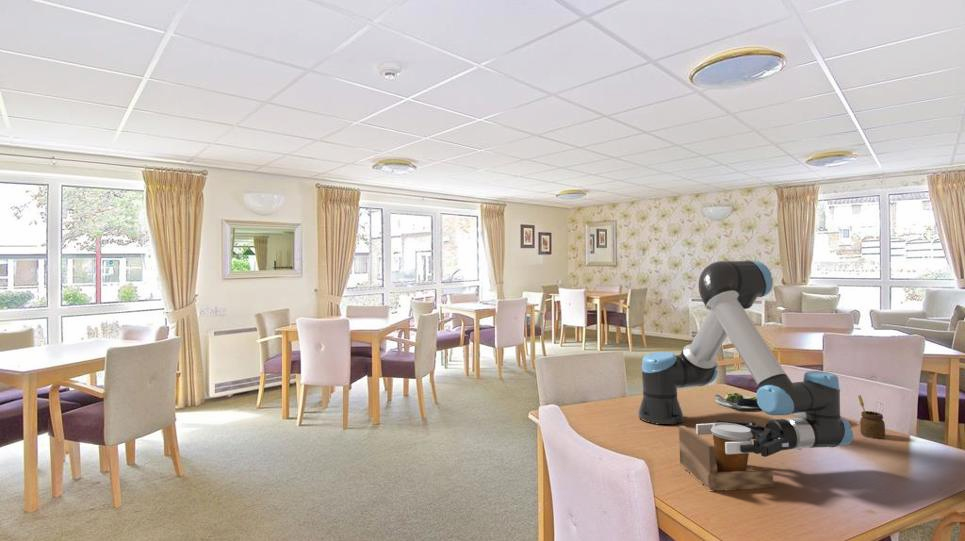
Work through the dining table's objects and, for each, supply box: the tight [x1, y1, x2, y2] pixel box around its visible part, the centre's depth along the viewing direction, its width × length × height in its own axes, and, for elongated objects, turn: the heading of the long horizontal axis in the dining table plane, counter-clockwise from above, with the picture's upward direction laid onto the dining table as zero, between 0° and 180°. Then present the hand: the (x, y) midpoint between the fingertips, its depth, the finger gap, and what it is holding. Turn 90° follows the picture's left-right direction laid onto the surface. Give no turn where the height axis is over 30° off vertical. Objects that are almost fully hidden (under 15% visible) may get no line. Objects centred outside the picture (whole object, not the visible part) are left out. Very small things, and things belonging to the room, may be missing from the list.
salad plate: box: [714, 392, 762, 412], centre depth 182 cm, size 19×18×5 cm
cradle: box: [678, 425, 774, 491], centre depth 120 cm, size 16×15×11 cm
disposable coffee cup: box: [711, 422, 753, 473], centre depth 118 cm, size 10×10×12 cm
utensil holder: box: [857, 394, 886, 439], centre depth 145 cm, size 6×6×12 cm
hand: (710, 438), depth 120 cm, fingers open, 13 cm apart
